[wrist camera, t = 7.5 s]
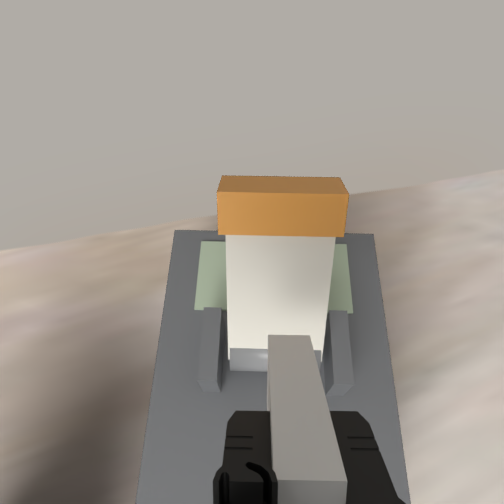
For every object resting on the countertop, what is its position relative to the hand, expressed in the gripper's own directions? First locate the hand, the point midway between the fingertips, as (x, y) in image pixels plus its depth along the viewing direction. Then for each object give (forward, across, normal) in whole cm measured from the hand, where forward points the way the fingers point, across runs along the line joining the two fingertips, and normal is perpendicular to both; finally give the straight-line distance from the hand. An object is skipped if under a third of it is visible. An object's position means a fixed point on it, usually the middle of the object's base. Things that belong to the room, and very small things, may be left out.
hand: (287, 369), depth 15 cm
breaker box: (+17, 0, -13) cm, 22 cm away
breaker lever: (+8, 0, -4) cm, 9 cm away
